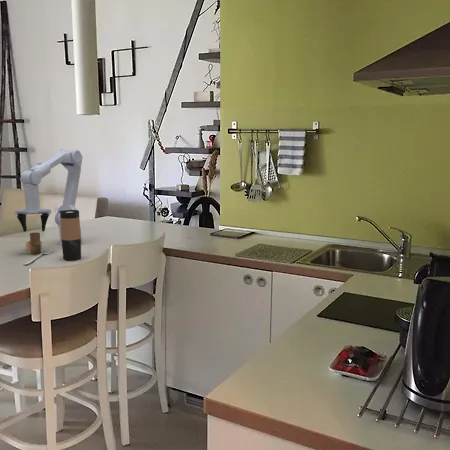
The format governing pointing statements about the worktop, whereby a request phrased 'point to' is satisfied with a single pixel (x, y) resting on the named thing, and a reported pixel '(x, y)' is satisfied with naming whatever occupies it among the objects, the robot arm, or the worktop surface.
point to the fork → (39, 255)
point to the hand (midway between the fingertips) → (34, 231)
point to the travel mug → (70, 235)
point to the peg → (35, 243)
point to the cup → (28, 245)
